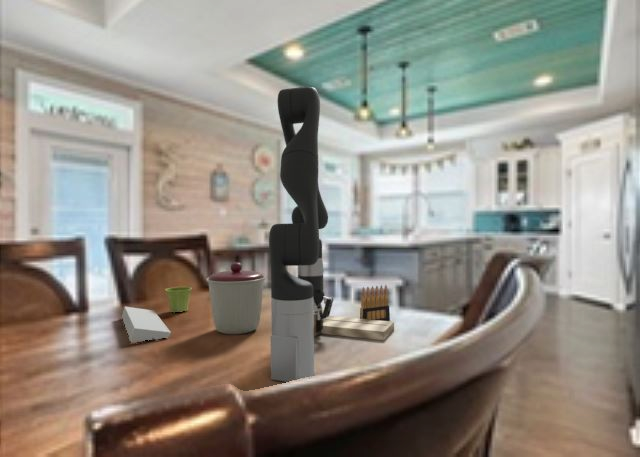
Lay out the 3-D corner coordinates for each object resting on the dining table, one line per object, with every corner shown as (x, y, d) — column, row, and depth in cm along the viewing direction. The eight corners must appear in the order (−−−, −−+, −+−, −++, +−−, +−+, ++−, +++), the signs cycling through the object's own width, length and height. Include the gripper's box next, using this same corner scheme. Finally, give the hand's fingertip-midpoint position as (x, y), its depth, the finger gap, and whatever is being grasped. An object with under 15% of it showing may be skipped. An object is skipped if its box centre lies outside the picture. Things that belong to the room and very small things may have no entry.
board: (394, 329, 126) (394, 321, 126) (384, 340, 115) (384, 331, 115) (311, 321, 137) (311, 314, 137) (294, 330, 126) (294, 322, 126)
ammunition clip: (362, 324, 132) (362, 287, 132) (359, 323, 134) (359, 286, 134) (390, 320, 137) (389, 284, 137) (386, 319, 139) (386, 284, 138)
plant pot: (164, 310, 157) (164, 287, 157) (190, 307, 161) (190, 285, 161) (166, 315, 148) (166, 291, 148) (193, 312, 152) (193, 289, 152)
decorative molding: (150, 323, 149) (120, 320, 144) (154, 310, 149) (124, 306, 144) (166, 348, 119) (130, 345, 114) (170, 332, 120) (134, 328, 115)
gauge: (314, 336, 118) (314, 314, 117) (300, 335, 119) (300, 312, 119) (331, 326, 129) (330, 305, 129) (318, 325, 131) (318, 304, 131)
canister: (235, 320, 140) (234, 258, 139) (278, 327, 130) (277, 261, 130) (194, 333, 124) (192, 264, 124) (239, 342, 115) (238, 267, 114)
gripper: (282, 273, 120) (283, 332, 120) (327, 276, 114) (328, 337, 114) (294, 270, 127) (295, 325, 127) (337, 272, 121) (338, 330, 121)
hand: (311, 330), depth 121 cm, fingers closed on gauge, 4 cm apart
